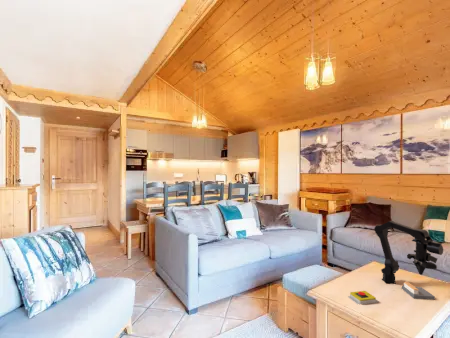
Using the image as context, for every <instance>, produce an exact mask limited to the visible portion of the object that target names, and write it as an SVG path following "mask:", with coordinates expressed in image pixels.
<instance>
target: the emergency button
mask: <svg viewBox="0 0 450 338" xmlns="http://www.w3.org/2000/svg"><path fill="white" fill-rule="evenodd" d="M347 298H348V299H350V300H351V301H352V302H354V303H355V304H356V305H358V304H359V305H360V304H362V305H368V304H377V303H379V302H380V301H379V300H378V299H377V298H376V297H375V296H374V295H372V294H371V293H370V292H368V291H366V290H361V291H360V290H357V291H350V293H349V296H347ZM359 305H358V306H359ZM360 306H361V305H360Z"/></svg>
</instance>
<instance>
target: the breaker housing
mask: <svg viewBox="0 0 450 338" xmlns="http://www.w3.org/2000/svg"><path fill="white" fill-rule="evenodd" d="M415 287H416V288H417V289H418V294H413V293H412V292H411V291H409V290H408V289H407V288H405V287H404V285H402V286H401V290H402V289H403V291H404V292H405V293H406V294H408V295H409V296H410V297H411V298H412V299H413V300H414V299H415V300H416V299H417V300H431V301H432V300H433V301H434V300H435V299H436V297H435V295H434V294H432V293H430V292H429V291H428V290H427V289H425V288H424V287H422V286H415Z"/></svg>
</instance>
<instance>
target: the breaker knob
mask: <svg viewBox="0 0 450 338" xmlns="http://www.w3.org/2000/svg"><path fill="white" fill-rule="evenodd" d="M403 286H404V287H405V288H407V289H408V290H409V291H411V292H412V293H413V294H418V289H417V288H416V287H417V286H415V285H413V284H411V283H410V282H409V281H403Z"/></svg>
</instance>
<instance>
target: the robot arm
mask: <svg viewBox="0 0 450 338" xmlns="http://www.w3.org/2000/svg"><path fill="white" fill-rule="evenodd" d="M391 229H395V230H397V231H400V232H403V233H405V234H408V235H410V236H412V237H413V239H411V242H414V243H415V249H414V250H413V252H414V253H407V254H406V258H407V259H409V260H411V259H412V263H413V265H414V267H415V268H416V270H417V273H418V274H419V275H421V276H422V275H423V274H424V272H425V270H426V269H428V270H437V269H438V265H437V264H436V263H437V261H438V258H437V257H435V256H434V255H431V254H436V255H439V256H442V255H443V254H444V253H443V252H444V247H443V244H442V243H441V242H435V241H434V240H433V238H432V237H431V236H430V233H429V232H428V231H427V229H421V228H416V227H415V228H413V227H410V226H408V225H404V224H401V223H398V222H395V221H393V220H391V221H387V222H386V223H381V224H379V225H375V227H374V232H375V235H376V236H377V237H378V239H379V241H380V246H381V248H382V252H383V255H384V267H383V268H382V269H380V271H381V274H382V278H381V280H382V281H383V282H384V283H386V284H394V285H396V273H397V272H398V271H399V269H400V265H399V261H398V260H395V259H394V256H393V253H392V249H391V246H390V242H389V239H388V236H389V230H391Z"/></svg>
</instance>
